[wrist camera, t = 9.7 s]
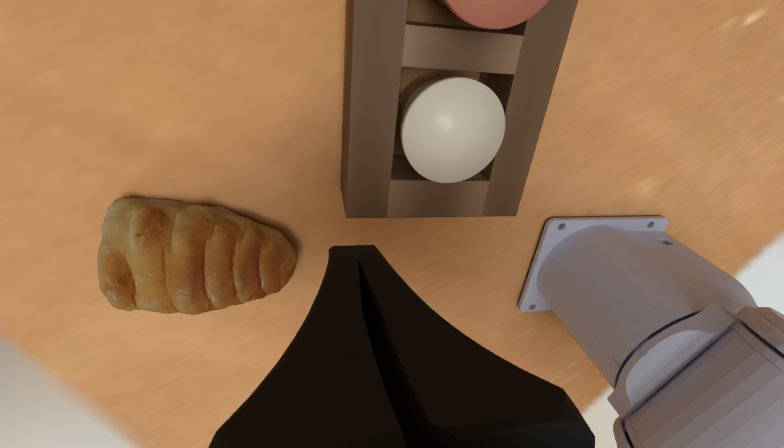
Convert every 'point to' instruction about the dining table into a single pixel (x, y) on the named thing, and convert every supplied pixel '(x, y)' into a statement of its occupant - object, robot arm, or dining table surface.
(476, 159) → the cream plug
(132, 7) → the dining table surface
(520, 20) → the red plug
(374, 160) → the plug block
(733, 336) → the robot arm
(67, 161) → the dining table surface
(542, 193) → the dining table surface
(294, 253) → the pastry
